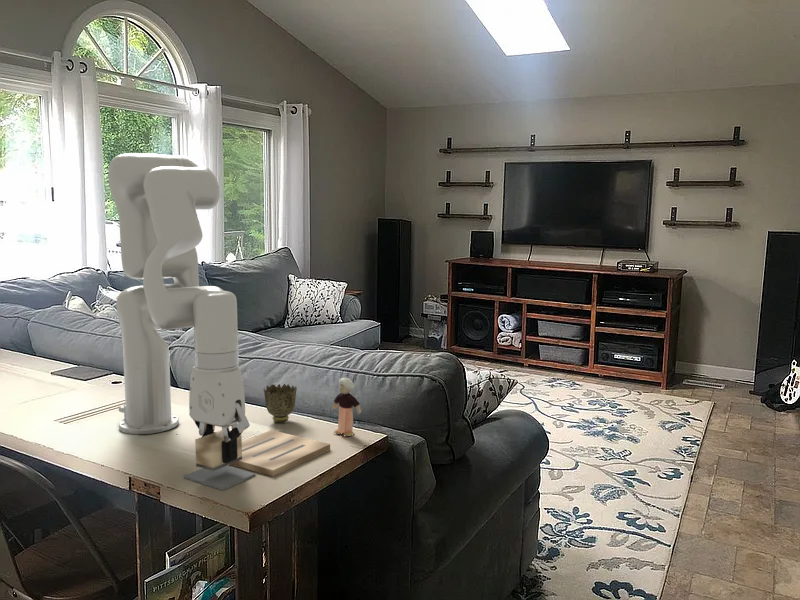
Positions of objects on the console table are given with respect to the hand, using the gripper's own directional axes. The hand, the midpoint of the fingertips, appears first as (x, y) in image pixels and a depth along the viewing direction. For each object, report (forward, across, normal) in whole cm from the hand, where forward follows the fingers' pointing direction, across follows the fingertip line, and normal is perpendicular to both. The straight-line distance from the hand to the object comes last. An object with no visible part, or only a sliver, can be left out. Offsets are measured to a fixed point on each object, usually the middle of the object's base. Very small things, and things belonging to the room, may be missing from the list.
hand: (219, 457), depth 127 cm
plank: (+4, 0, +14) cm, 15 cm away
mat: (+4, 0, 0) cm, 4 cm away
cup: (+4, -13, +31) cm, 34 cm away
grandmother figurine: (+4, +5, +32) cm, 33 cm away
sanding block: (+1, 0, 0) cm, 1 cm away
